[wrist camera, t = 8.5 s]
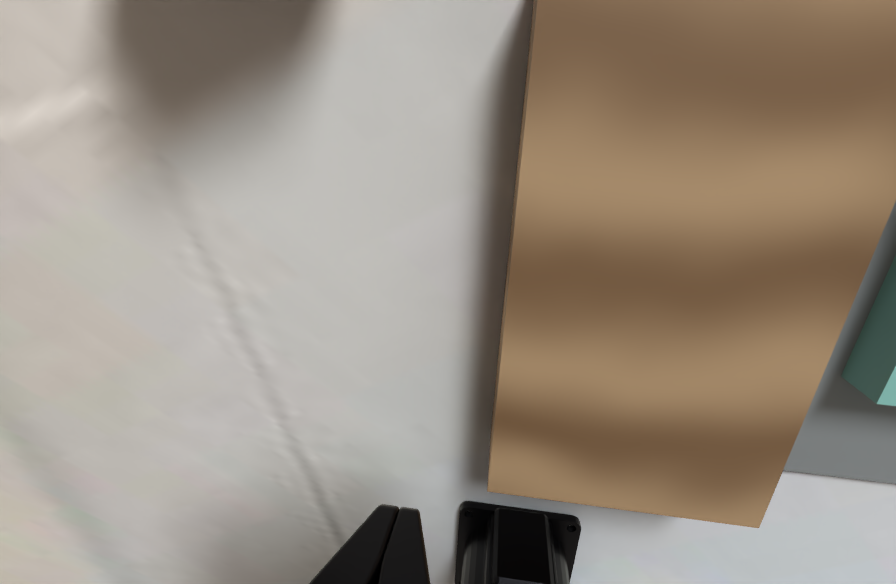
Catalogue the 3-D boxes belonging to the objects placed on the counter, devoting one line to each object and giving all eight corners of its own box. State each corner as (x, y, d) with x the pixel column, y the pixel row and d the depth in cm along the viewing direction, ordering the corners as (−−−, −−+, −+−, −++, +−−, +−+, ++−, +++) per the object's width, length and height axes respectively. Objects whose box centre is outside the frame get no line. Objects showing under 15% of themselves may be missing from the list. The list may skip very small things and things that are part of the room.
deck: (716, 458, 22) (758, 527, 18) (490, 430, 23) (487, 491, 19) (883, -33, 14) (1016, -88, 10) (537, -38, 15) (546, -88, 12)
